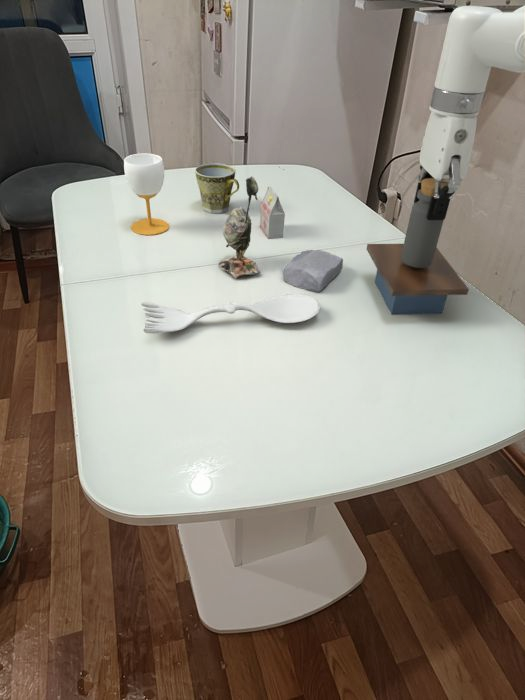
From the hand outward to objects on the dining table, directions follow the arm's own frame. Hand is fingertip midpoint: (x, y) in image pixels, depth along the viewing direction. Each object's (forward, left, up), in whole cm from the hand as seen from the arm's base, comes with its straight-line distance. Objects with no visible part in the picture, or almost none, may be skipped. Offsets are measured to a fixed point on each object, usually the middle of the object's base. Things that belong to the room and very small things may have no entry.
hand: (428, 210), depth 91 cm
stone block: (+18, -9, -18) cm, 27 cm away
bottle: (0, 0, -10) cm, 10 cm away
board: (0, 0, -12) cm, 12 cm away
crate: (0, 0, -18) cm, 18 cm away
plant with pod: (+33, -13, -18) cm, 40 cm away
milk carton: (+24, -30, -18) cm, 43 cm away
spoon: (+35, +7, -18) cm, 40 cm away
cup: (+53, -33, -18) cm, 65 cm away
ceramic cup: (+36, -43, -18) cm, 59 cm away
